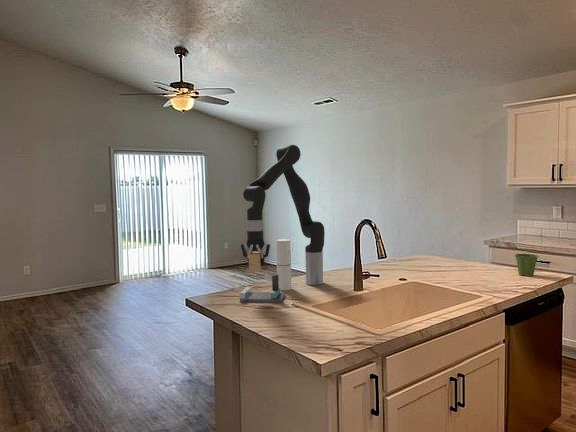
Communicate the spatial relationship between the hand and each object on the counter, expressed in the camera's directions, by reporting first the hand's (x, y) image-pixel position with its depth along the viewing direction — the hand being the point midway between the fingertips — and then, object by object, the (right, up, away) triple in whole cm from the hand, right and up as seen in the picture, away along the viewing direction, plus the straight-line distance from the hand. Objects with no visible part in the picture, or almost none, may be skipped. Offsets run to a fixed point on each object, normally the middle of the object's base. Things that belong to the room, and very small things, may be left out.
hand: (256, 265), depth 201 cm
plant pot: (+147, -10, +40) cm, 153 cm away
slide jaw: (+9, -14, -1) cm, 16 cm away
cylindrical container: (+13, -14, +19) cm, 27 cm away
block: (0, -2, 0) cm, 2 cm away
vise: (+3, -15, +1) cm, 16 cm away
